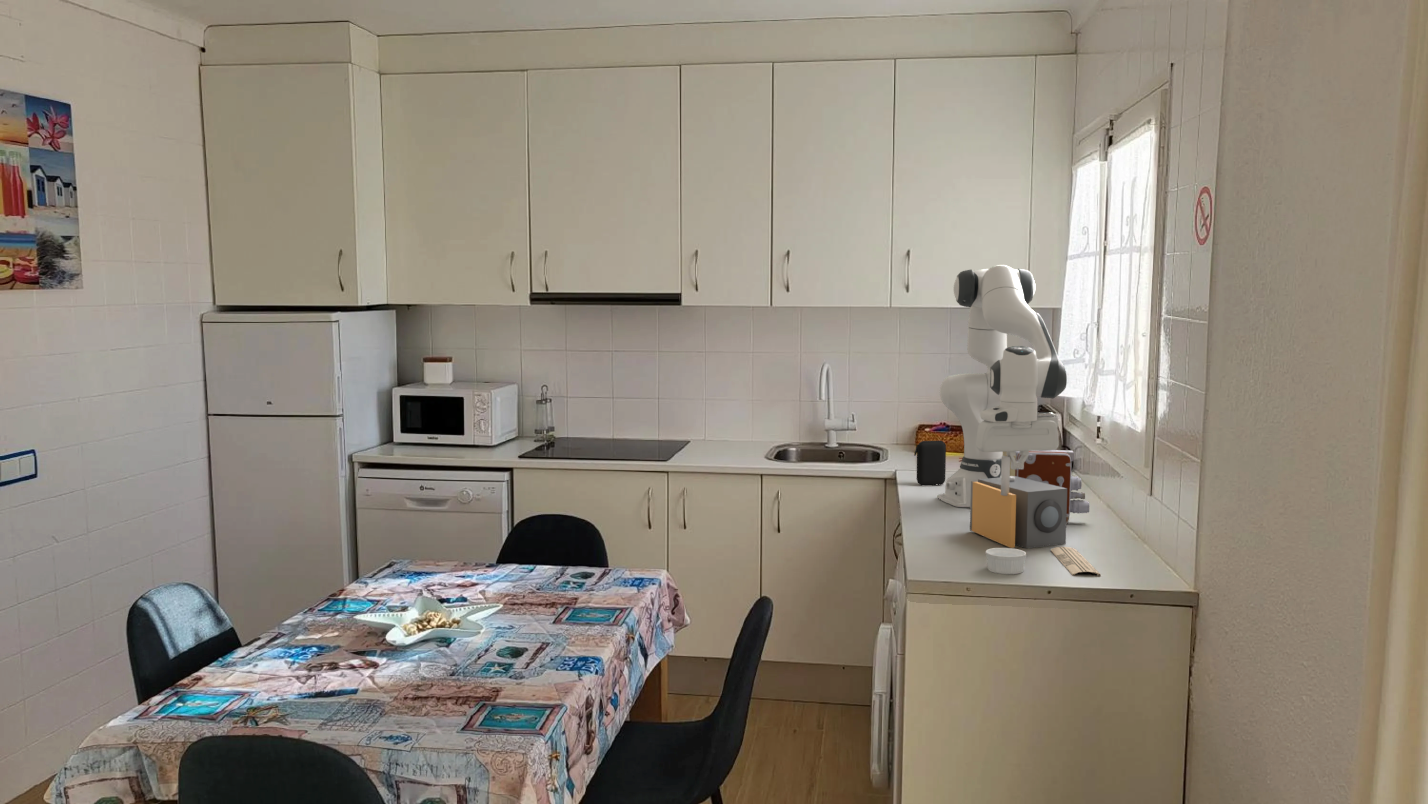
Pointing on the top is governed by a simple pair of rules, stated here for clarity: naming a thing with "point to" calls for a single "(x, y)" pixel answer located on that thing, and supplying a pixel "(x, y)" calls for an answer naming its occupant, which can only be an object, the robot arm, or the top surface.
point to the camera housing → (1036, 511)
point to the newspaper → (1073, 560)
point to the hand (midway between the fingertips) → (1017, 469)
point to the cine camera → (1055, 475)
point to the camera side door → (994, 509)
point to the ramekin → (1005, 560)
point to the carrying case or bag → (931, 462)
